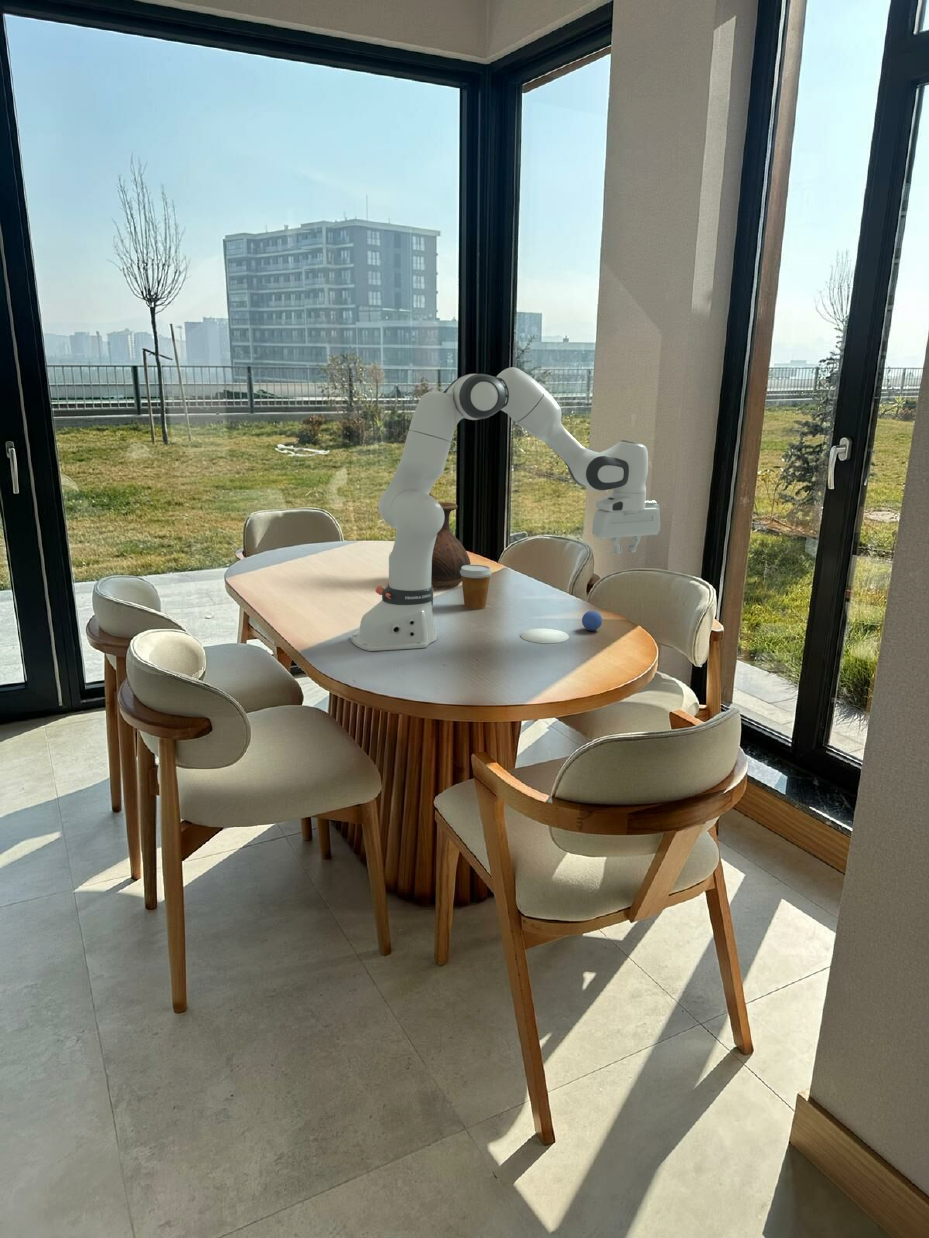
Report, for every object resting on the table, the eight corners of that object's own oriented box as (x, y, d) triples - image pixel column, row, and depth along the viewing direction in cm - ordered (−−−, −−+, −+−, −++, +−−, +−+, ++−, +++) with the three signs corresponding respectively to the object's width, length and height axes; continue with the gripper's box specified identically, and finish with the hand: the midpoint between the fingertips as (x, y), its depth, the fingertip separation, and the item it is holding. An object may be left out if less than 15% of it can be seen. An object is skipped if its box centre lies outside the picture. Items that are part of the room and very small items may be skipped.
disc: (535, 645, 224) (535, 645, 224) (511, 632, 236) (511, 631, 236) (578, 640, 230) (578, 639, 230) (552, 627, 241) (552, 626, 241)
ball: (588, 633, 236) (589, 614, 234) (577, 628, 240) (578, 609, 239) (605, 631, 238) (606, 612, 236) (594, 626, 243) (595, 607, 241)
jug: (473, 578, 296) (475, 490, 288) (467, 593, 276) (469, 499, 267) (410, 575, 298) (410, 488, 290) (399, 590, 278) (399, 497, 269)
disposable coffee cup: (463, 611, 255) (464, 571, 252) (455, 603, 264) (456, 564, 260) (494, 610, 257) (496, 570, 254) (485, 601, 266) (486, 563, 263)
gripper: (652, 498, 241) (648, 547, 244) (590, 502, 232) (587, 552, 236) (667, 501, 235) (662, 552, 239) (604, 505, 226) (601, 557, 230)
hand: (625, 552), depth 237 cm, fingers open, 3 cm apart
